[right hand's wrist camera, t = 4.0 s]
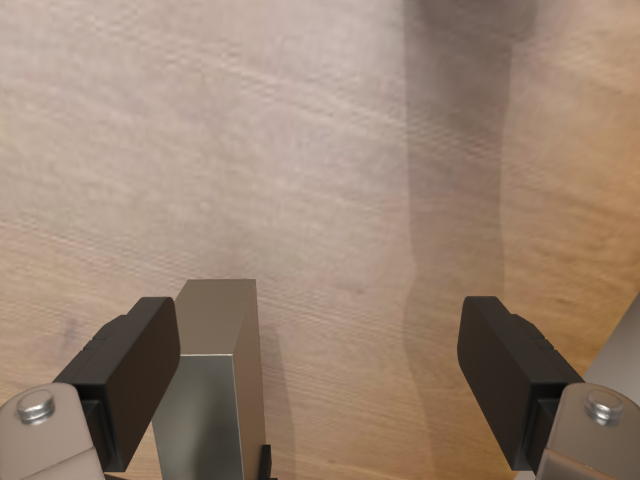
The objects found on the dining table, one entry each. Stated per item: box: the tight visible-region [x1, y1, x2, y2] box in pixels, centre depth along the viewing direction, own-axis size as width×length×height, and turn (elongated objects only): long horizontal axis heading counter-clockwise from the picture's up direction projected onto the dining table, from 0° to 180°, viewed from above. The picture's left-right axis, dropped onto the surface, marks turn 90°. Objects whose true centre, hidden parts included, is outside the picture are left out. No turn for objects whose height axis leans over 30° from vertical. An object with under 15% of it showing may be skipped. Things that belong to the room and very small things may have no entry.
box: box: [152, 279, 266, 480], centre depth 37 cm, size 24×6×11 cm, turn 0°
